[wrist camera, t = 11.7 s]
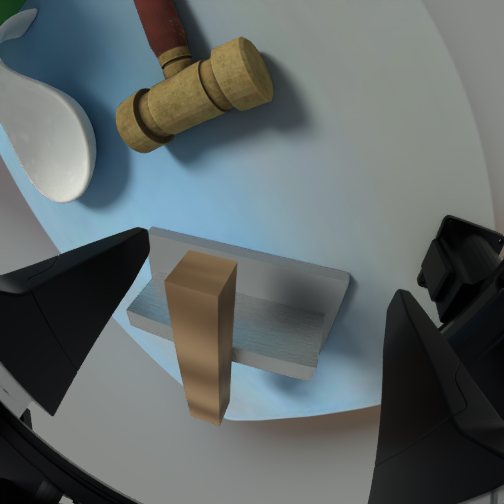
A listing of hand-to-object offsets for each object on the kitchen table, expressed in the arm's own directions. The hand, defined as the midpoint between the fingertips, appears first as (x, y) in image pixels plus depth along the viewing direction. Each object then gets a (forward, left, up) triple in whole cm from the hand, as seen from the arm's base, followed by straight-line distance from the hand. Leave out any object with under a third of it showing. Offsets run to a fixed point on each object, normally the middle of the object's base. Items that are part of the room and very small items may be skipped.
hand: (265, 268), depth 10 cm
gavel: (+12, -11, -13) cm, 21 cm away
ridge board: (+4, +13, -12) cm, 18 cm away
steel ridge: (+4, +13, -11) cm, 17 cm away
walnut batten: (+4, +13, -5) cm, 14 cm away
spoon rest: (+26, -5, -12) cm, 29 cm away
